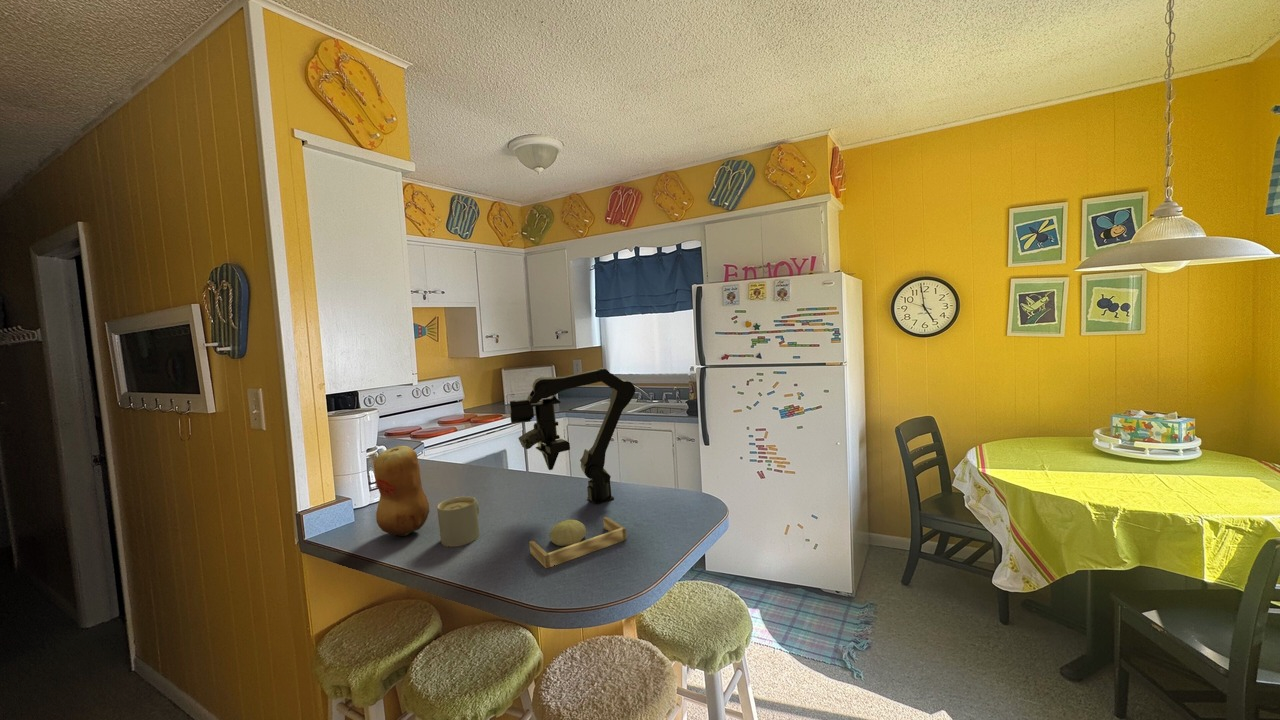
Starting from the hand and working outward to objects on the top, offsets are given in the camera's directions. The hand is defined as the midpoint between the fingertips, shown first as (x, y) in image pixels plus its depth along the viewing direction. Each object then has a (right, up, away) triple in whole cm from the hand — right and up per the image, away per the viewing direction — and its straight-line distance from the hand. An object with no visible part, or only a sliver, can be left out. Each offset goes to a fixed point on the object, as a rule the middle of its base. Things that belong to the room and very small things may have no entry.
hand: (550, 469), depth 154 cm
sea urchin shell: (+9, -14, -22) cm, 27 cm away
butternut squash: (-39, -16, -10) cm, 44 cm away
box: (+12, -14, -26) cm, 32 cm away
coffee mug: (-21, -15, -14) cm, 30 cm away
